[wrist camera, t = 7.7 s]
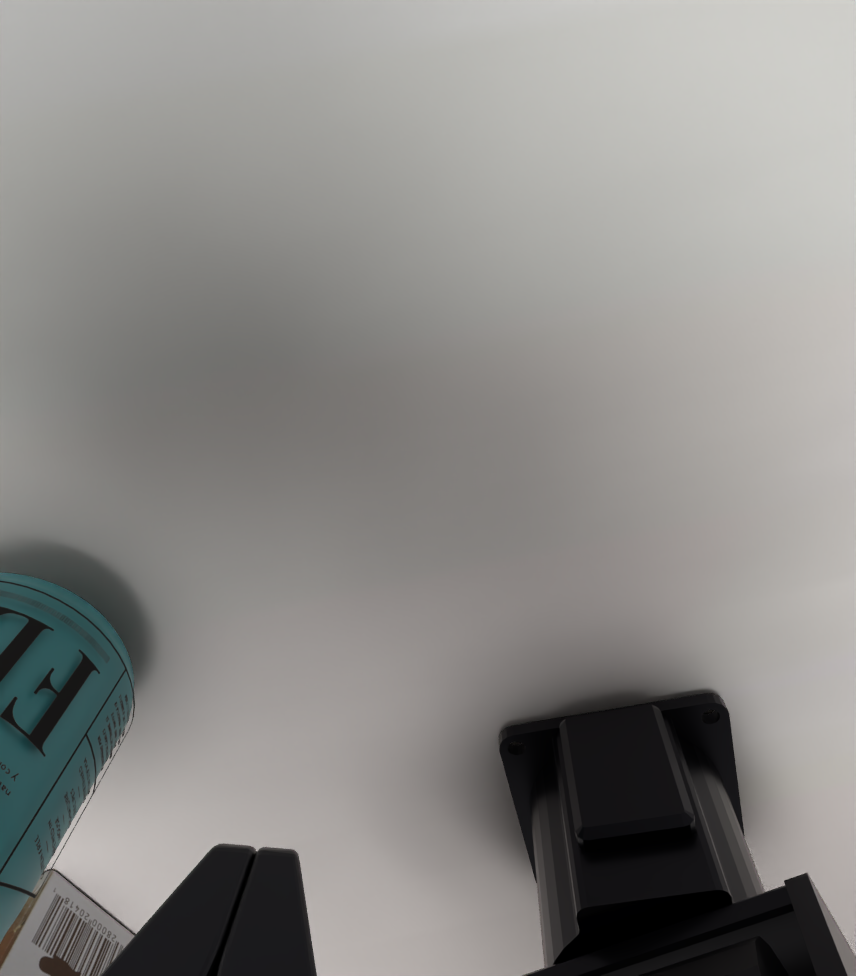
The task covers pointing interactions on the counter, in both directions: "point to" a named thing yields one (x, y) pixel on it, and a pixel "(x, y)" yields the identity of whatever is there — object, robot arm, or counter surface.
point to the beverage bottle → (51, 723)
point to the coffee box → (61, 934)
